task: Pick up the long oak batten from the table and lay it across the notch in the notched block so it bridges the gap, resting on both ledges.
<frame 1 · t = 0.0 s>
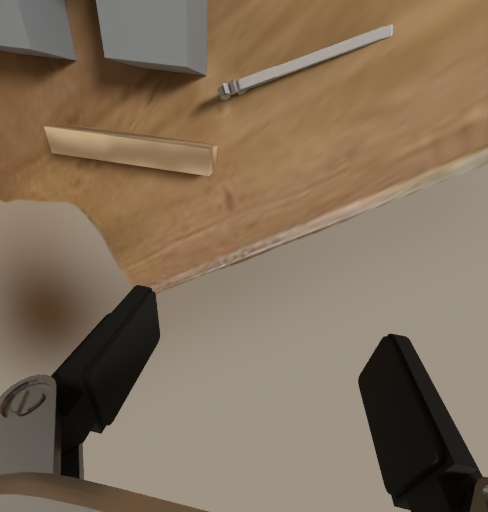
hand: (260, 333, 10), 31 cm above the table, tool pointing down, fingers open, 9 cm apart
caliper: (300, 67, 30), on the table
oak batten: (144, 146, 38), on the table
notched block: (97, 2, 30), on the table
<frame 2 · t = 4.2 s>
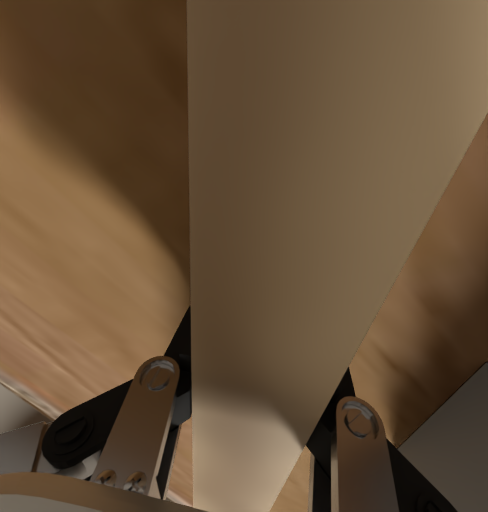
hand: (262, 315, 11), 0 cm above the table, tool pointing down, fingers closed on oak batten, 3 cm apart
oak batten: (264, 308, 11), on the table, touching gripper
when the fingers open (8 cm above the table, at t = 10.9 s): oak batten stays where it is, resting on notched block.
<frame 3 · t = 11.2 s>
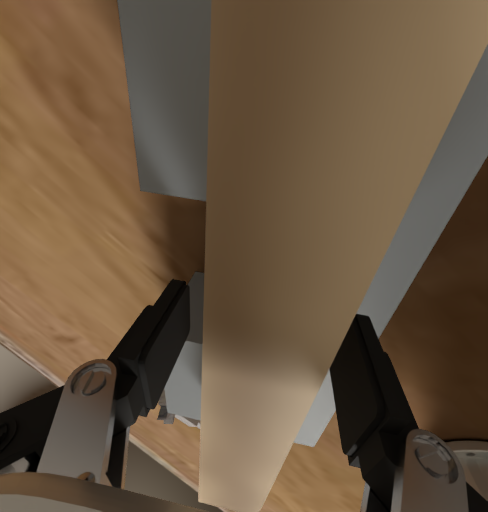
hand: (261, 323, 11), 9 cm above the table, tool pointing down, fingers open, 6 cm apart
caliper: (212, 403, 32), on the table
oak batten: (266, 297, 12), point 7 cm above the table, touching notched block
notched block: (272, 236, 18), on the table
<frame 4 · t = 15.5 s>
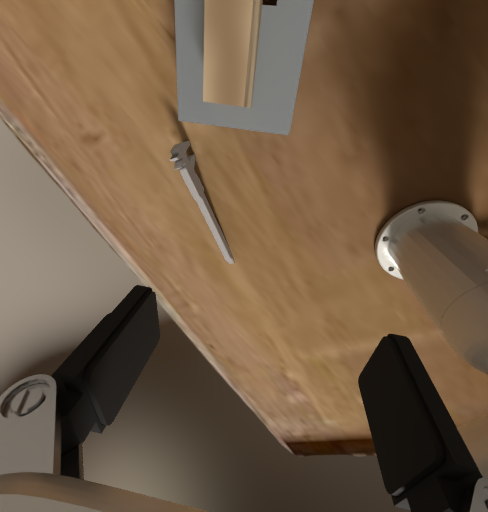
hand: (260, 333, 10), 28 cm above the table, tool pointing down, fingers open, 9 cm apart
caliper: (212, 208, 39), on the table
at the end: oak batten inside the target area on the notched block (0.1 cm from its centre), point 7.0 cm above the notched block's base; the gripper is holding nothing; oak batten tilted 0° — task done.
